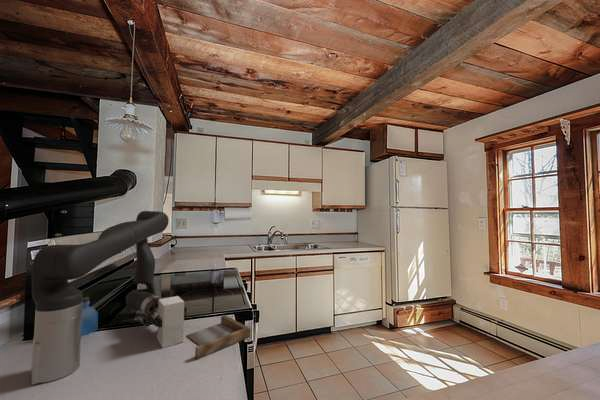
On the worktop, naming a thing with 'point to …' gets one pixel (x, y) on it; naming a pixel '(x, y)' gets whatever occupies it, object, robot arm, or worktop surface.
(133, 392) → the worktop surface
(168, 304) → the small box
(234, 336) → the wooden tray
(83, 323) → the perfume bottle
